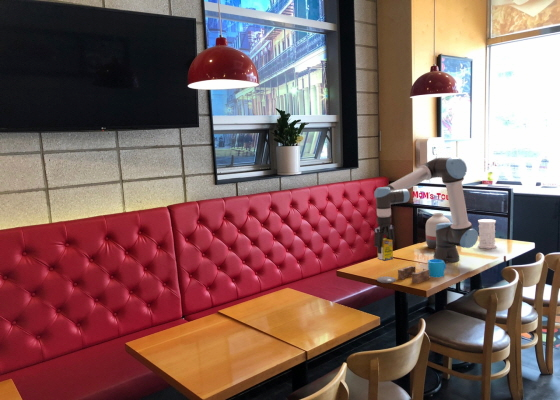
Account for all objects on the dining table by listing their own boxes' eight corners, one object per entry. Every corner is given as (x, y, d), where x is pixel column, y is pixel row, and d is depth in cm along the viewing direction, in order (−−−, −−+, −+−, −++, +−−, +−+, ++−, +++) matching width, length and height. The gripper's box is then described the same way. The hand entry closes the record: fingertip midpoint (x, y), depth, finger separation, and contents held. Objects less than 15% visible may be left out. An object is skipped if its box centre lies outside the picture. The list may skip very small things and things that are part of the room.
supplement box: (384, 261, 237) (384, 241, 236) (377, 259, 242) (376, 239, 241) (393, 259, 240) (392, 239, 238) (385, 257, 245) (385, 238, 244)
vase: (424, 245, 317) (423, 212, 314) (448, 244, 314) (448, 211, 312) (428, 250, 300) (427, 216, 298) (454, 249, 298) (454, 215, 295)
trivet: (385, 276, 249) (385, 275, 249) (399, 280, 241) (399, 278, 241) (373, 280, 244) (373, 279, 243) (387, 284, 235) (387, 283, 235)
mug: (437, 278, 240) (437, 263, 239) (425, 275, 247) (424, 261, 246) (451, 273, 246) (451, 259, 245) (439, 271, 253) (438, 257, 252)
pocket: (411, 274, 250) (410, 265, 249) (429, 278, 240) (429, 269, 240) (398, 278, 244) (398, 269, 243) (416, 283, 234) (416, 274, 233)
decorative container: (482, 244, 309) (481, 218, 307) (499, 246, 300) (499, 219, 298) (474, 247, 301) (474, 221, 299) (492, 249, 293) (492, 222, 291)
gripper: (390, 213, 247) (391, 253, 249) (366, 217, 236) (367, 260, 238) (401, 214, 241) (402, 255, 243) (376, 219, 230) (378, 262, 232)
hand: (385, 257), depth 241 cm, fingers closed on supplement box, 6 cm apart
